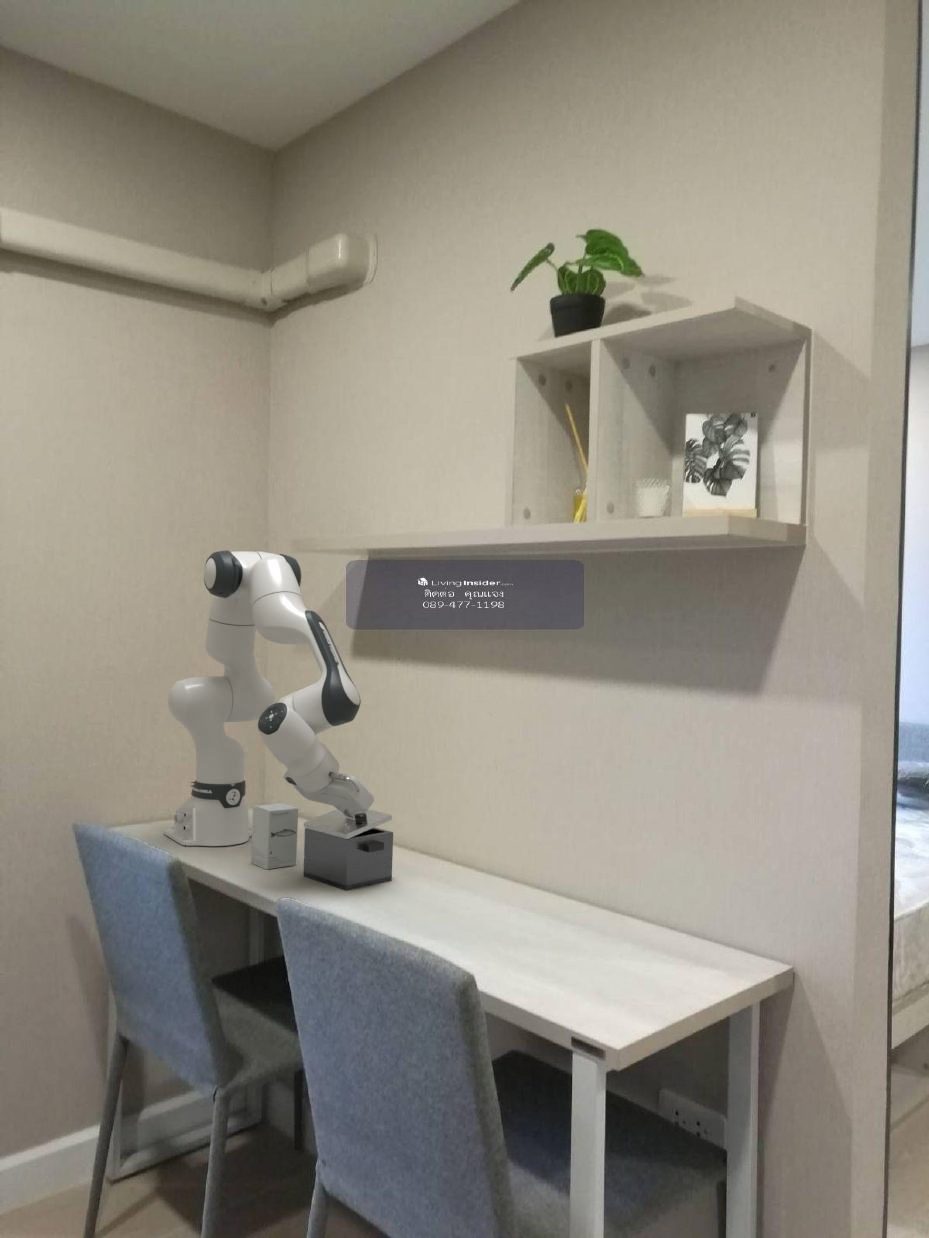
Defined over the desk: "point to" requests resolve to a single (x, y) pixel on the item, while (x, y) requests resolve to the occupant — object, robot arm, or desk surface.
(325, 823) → the lid
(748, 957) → the desk surface
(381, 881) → the grey storage bin
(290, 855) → the supplement box
